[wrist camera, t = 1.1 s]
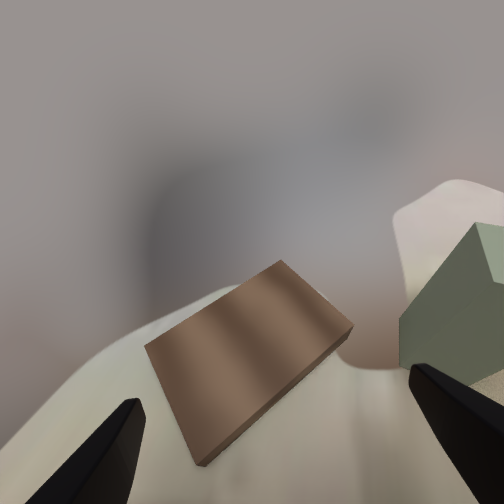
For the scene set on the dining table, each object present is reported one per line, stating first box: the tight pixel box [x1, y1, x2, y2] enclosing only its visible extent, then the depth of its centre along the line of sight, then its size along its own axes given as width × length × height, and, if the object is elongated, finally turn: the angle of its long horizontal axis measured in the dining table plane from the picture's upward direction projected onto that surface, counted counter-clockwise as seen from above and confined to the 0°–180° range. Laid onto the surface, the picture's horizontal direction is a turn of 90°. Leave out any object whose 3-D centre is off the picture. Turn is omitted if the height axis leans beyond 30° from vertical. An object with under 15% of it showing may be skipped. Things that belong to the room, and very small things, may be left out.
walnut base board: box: [144, 260, 354, 467], centre depth 23 cm, size 16×10×3 cm, turn 126°
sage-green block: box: [399, 222, 504, 386], centre depth 18 cm, size 5×5×13 cm
